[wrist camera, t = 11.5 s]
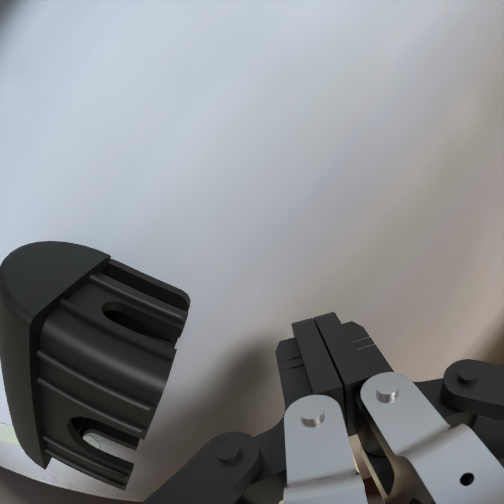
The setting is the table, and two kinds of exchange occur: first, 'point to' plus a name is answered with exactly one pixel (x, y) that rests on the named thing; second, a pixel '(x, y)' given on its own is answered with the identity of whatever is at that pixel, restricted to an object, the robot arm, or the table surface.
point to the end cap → (84, 353)
